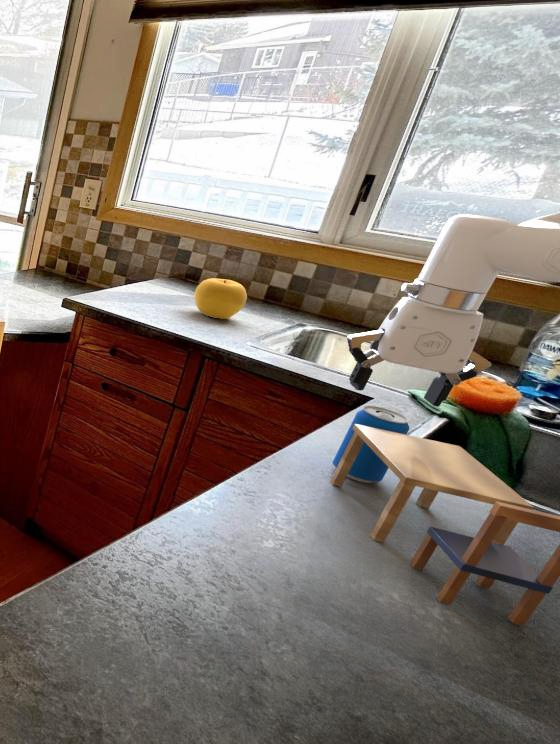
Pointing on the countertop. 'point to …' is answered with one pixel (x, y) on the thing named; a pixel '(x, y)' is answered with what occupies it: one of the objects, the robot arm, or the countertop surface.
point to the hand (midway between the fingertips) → (392, 394)
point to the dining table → (427, 475)
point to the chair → (494, 558)
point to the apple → (220, 298)
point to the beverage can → (367, 461)
